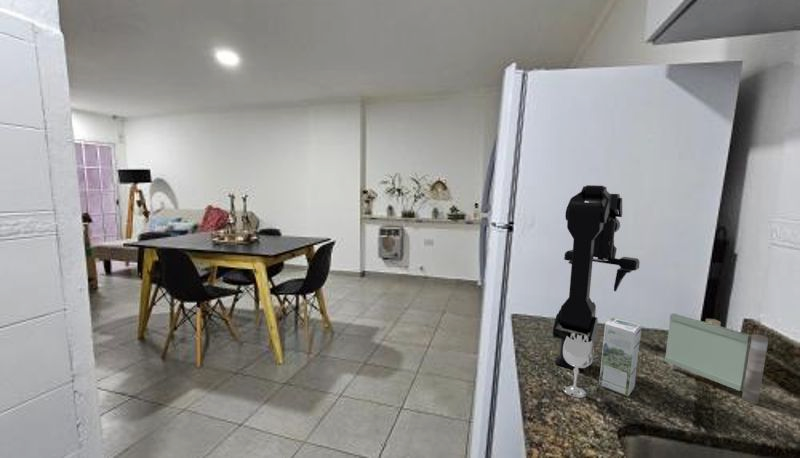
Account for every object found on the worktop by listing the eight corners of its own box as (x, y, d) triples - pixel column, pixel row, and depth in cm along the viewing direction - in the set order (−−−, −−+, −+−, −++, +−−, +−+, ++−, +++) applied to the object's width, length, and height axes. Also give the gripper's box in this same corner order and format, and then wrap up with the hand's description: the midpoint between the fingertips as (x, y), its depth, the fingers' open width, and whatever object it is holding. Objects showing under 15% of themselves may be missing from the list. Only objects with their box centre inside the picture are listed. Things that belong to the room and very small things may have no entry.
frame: (771, 405, 71) (782, 340, 70) (748, 403, 72) (758, 338, 70) (708, 364, 88) (715, 310, 86) (689, 362, 89) (696, 309, 87)
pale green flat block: (743, 389, 74) (751, 335, 73) (739, 391, 73) (748, 336, 72) (667, 360, 86) (673, 313, 85) (664, 361, 86) (670, 314, 84)
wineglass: (589, 402, 70) (595, 345, 69) (558, 393, 73) (563, 339, 72) (589, 388, 75) (595, 335, 74) (560, 381, 78) (565, 329, 77)
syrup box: (635, 387, 76) (642, 323, 75) (628, 398, 72) (635, 331, 71) (606, 376, 80) (612, 316, 79) (597, 386, 76) (604, 322, 75)
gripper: (645, 238, 102) (639, 289, 104) (577, 231, 115) (573, 277, 117) (638, 240, 94) (632, 297, 96) (565, 233, 107) (561, 283, 109)
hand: (597, 287), depth 104 cm, fingers open, 9 cm apart
